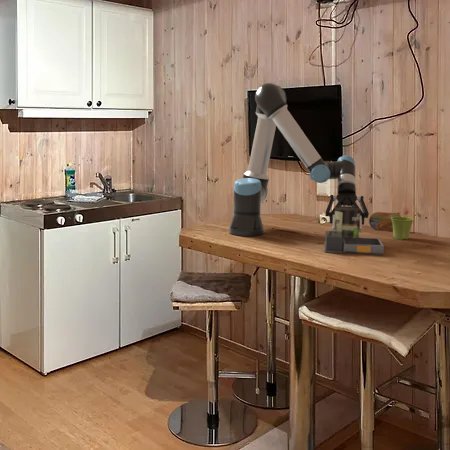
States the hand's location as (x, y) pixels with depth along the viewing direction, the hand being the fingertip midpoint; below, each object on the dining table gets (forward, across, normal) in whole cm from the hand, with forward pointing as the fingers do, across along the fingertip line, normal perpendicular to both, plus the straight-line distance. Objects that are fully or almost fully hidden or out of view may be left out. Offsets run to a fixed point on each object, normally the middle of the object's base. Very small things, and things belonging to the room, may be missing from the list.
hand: (347, 230), depth 236 cm
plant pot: (-7, -24, -15) cm, 29 cm away
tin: (-21, -20, -29) cm, 41 cm away
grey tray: (+12, -2, +5) cm, 13 cm away
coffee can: (+2, 0, -6) cm, 6 cm away
